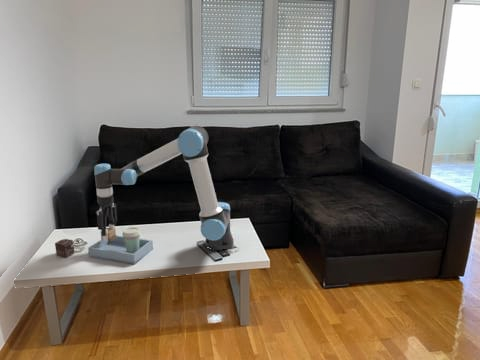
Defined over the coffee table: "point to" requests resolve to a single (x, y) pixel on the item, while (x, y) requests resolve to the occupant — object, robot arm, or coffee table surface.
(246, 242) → the coffee table surface
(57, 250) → the box
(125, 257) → the tray
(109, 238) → the walnut cube
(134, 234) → the coffee cup
